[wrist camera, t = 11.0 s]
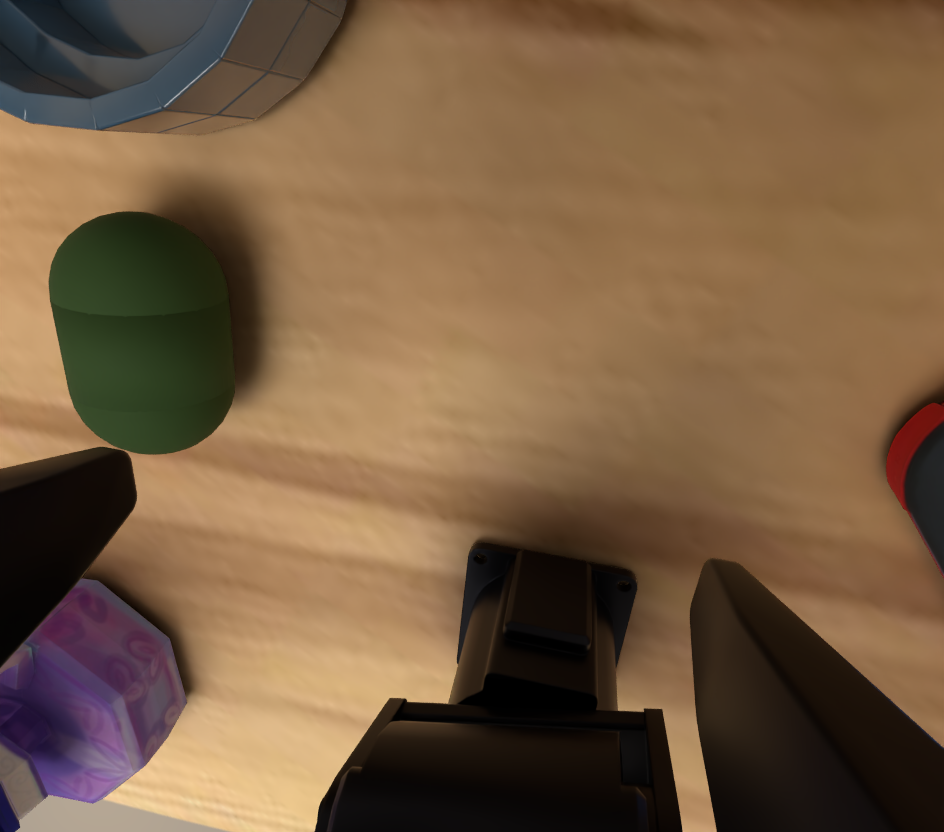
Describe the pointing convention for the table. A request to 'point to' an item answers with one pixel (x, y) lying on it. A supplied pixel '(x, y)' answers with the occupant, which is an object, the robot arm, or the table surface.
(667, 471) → the table surface
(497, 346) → the table surface
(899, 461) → the game console
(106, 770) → the lantern
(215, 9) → the bowl
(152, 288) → the green rounded cylinder
